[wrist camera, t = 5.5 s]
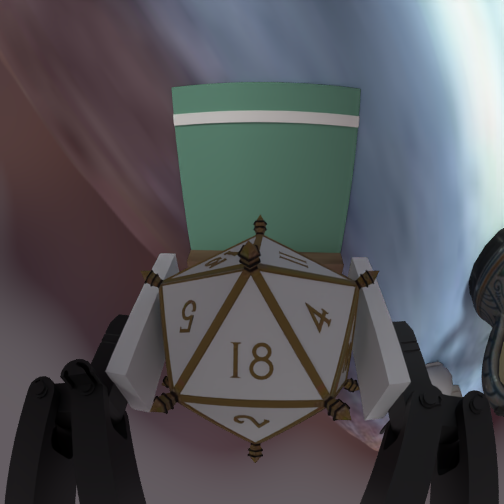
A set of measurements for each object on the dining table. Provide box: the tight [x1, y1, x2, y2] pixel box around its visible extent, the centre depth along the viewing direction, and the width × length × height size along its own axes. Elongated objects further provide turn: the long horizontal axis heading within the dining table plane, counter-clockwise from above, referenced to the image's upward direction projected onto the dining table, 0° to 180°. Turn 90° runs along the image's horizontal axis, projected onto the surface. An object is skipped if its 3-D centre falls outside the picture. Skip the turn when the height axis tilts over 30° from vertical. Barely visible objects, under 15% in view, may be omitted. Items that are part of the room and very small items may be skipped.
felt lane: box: [172, 82, 361, 253], centre depth 26 cm, size 17×16×1 cm
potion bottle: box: [426, 361, 453, 396], centre depth 39 cm, size 9×9×18 cm
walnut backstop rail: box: [187, 250, 344, 274], centre depth 31 cm, size 1×16×2 cm, turn 91°
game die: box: [141, 215, 379, 463], centre depth 11 cm, size 9×8×10 cm
